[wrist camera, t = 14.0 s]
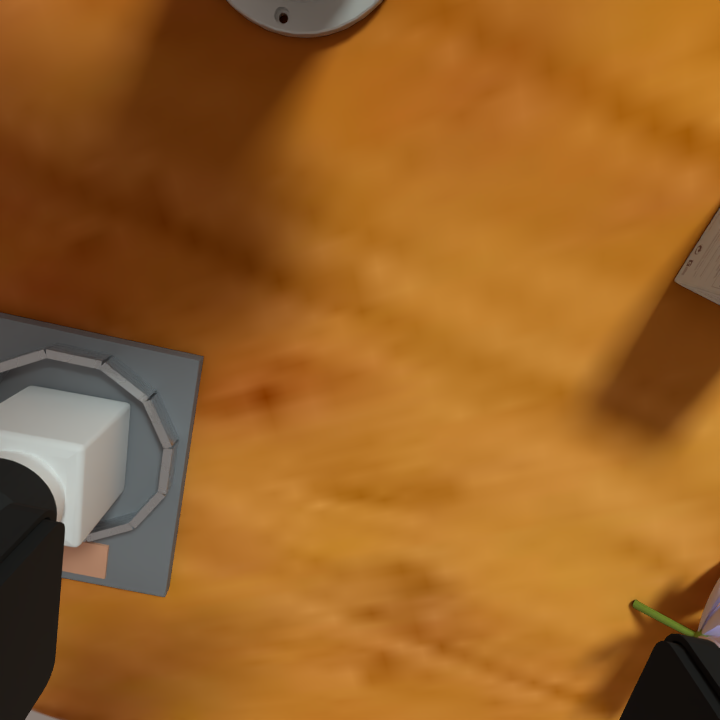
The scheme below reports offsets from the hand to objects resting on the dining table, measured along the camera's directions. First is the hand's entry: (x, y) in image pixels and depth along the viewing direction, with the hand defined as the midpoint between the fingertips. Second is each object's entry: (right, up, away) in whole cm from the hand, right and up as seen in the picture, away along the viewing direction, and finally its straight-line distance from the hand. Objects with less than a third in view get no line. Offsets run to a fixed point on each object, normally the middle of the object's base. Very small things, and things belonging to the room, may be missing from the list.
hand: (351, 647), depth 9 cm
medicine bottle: (-20, -1, +31) cm, 37 cm away
